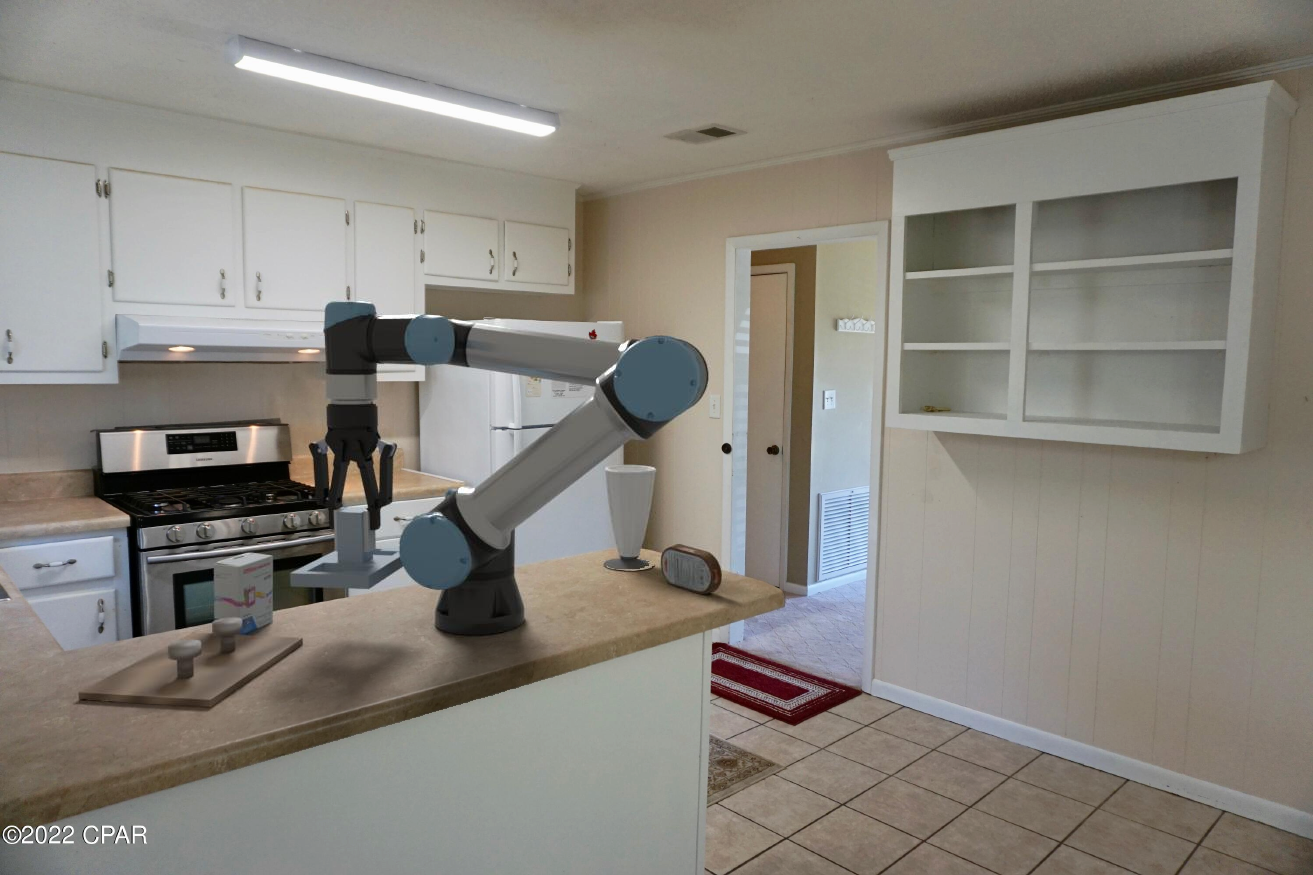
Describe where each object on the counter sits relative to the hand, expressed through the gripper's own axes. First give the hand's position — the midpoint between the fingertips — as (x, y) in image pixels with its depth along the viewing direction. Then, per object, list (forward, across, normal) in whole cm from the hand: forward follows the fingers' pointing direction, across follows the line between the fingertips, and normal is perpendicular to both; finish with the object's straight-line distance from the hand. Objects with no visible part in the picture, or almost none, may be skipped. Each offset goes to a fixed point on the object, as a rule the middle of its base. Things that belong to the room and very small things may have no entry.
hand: (355, 549), depth 134 cm
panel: (+4, 0, 0) cm, 4 cm away
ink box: (+15, +20, -3) cm, 25 cm away
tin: (+16, -52, -38) cm, 66 cm away
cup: (+15, -38, -55) cm, 68 cm away
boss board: (+15, +16, +15) cm, 27 cm away
